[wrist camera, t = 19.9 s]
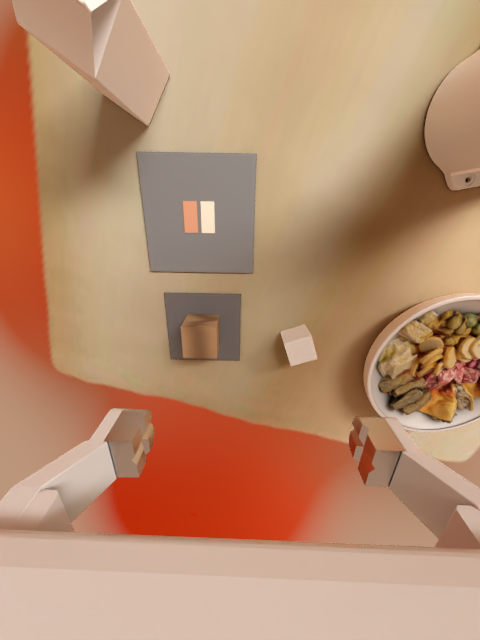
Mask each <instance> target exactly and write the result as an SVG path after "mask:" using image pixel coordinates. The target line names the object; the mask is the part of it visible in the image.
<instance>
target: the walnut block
mask: <svg viewBox="0 0 480 640" xmlns="http://www.w3.org/2000/svg"><path fill="white" fill-rule="evenodd" d="M181 337H182V350H183V358H214V359H217V356H218V351H219V345H220V316H219V314H187V316H186V318H185V320H184V322H183V323H182V325H181Z"/></svg>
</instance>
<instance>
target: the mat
mask: <svg viewBox="0 0 480 640" xmlns="http://www.w3.org/2000/svg"><path fill="white" fill-rule="evenodd" d="M164 296H165V305H166V315H167V325H168V335H169V345H170V354H171V359H189V360H240V311H241V294H207V293H164ZM187 314H219V316H220V345H219V351H218V356H217V359H214V358H183V350H182V337H181V325H182V323H183V322H184V320H185V318H186V316H187Z"/></svg>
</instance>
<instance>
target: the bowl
mask: <svg viewBox="0 0 480 640" xmlns="http://www.w3.org/2000/svg"><path fill="white" fill-rule="evenodd" d="M363 379H364V387H365V391H366V394H367V397H368V399H369V401H370V403H371V405H372V406H373V408H374V409H375V411H376V412H377V413H378V414H379V415H380V416H381V417H395V418H397V419H398V420H399V421H400V423H401V424H402V426H403V427H404V428H405V430H408V431H413V432H423V433H432V432H443V431H448V430H453V429H457V428H460V427H463V426H466V425H469V424H472V423H474V422H476V421H478V420H480V294H477V293H458V294H450V295H444V296H440V297H436V298H433V299H430V300H427V301H424V302H422V303H420V304H417V305H415V306H413V307H412V308H410V309H408V310H406V311H405V312H403V313H402V314H400V315H399V316H398V317H396V318H395V319H394V320H393V321H392V322H390V323H389V324H388V325H387V326H386V327H385V328H384V329H383V331H382V332H381V333H380V334H379V335H378V337H377V338H376V340H375V341H374V343H373V344H372V346H371V348H370V350H369V352H368V355H367V358H366V361H365V365H364V374H363Z"/></svg>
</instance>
